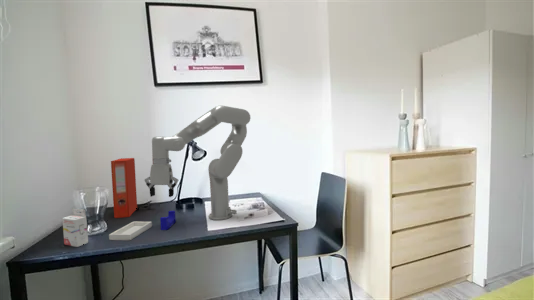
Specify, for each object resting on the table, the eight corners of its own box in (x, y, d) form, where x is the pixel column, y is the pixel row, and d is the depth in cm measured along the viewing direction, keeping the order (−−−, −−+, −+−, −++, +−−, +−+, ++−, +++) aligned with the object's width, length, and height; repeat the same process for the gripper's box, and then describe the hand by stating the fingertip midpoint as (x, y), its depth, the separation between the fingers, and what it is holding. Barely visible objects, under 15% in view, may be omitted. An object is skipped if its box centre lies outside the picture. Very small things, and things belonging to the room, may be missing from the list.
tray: (152, 226, 132) (151, 221, 132) (130, 240, 115) (129, 234, 115) (133, 226, 134) (133, 221, 133) (109, 240, 117) (108, 234, 117)
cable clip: (167, 222, 139) (166, 210, 139) (175, 221, 139) (175, 210, 139) (157, 230, 127) (157, 218, 127) (167, 230, 127) (166, 217, 127)
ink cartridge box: (63, 245, 113) (60, 211, 112) (75, 240, 118) (72, 207, 117) (77, 247, 110) (74, 212, 109) (89, 242, 115) (86, 209, 114)
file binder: (137, 208, 167) (134, 157, 165) (130, 216, 150) (126, 160, 148) (123, 209, 165) (120, 158, 163) (114, 218, 148) (110, 161, 146)
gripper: (180, 161, 133) (181, 194, 134) (148, 161, 136) (149, 194, 137) (173, 162, 126) (174, 198, 127) (139, 162, 128) (141, 197, 129)
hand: (161, 196), depth 132 cm, fingers open, 9 cm apart
